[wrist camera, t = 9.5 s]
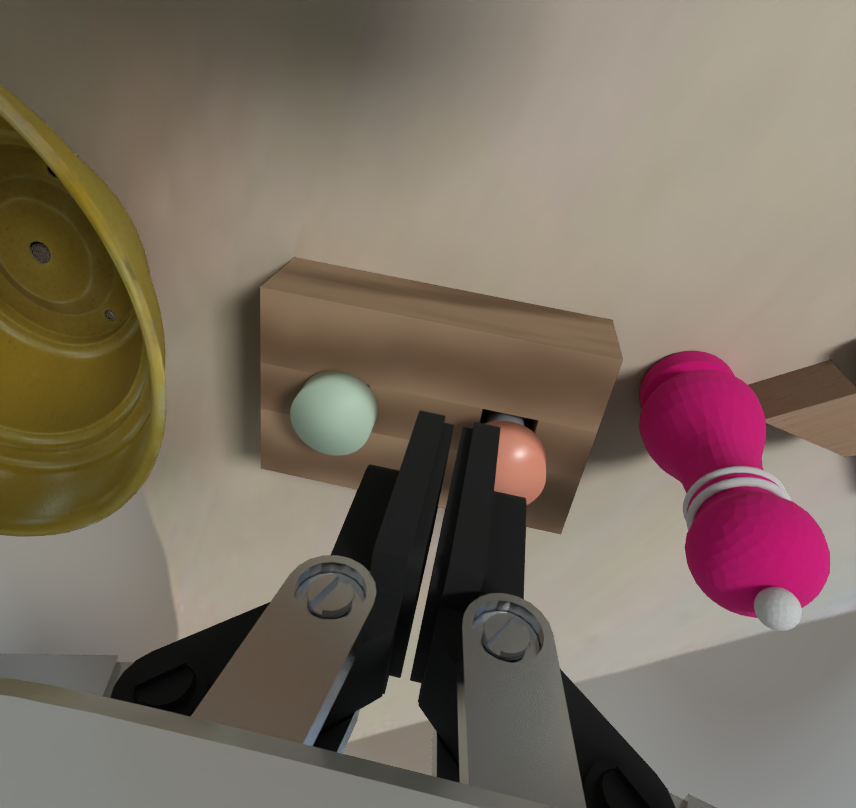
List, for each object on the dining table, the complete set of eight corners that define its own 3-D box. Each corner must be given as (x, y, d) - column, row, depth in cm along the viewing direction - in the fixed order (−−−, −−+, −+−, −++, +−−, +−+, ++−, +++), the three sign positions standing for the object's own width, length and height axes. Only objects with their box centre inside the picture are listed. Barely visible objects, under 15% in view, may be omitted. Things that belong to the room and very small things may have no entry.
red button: (477, 370, 41) (465, 430, 34) (553, 386, 40) (555, 449, 34) (464, 433, 44) (451, 499, 37) (535, 448, 43) (534, 517, 37)
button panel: (294, 257, 42) (260, 287, 36) (612, 320, 40) (623, 360, 35) (290, 424, 49) (260, 468, 44) (558, 481, 48) (560, 534, 42)
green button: (328, 328, 43) (291, 377, 37) (399, 342, 43) (374, 394, 36) (324, 390, 46) (289, 445, 39) (391, 404, 45) (366, 462, 39)
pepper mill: (685, 450, 44) (775, 702, 27) (609, 397, 43) (654, 626, 26) (766, 383, 41) (928, 624, 24) (686, 322, 40) (795, 531, 23)
